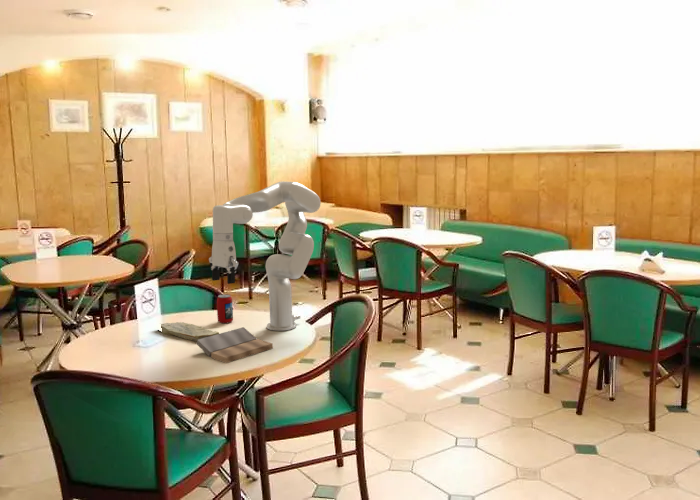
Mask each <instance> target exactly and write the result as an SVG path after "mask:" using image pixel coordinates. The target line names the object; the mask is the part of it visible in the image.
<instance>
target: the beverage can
mask: <svg viewBox="0 0 700 500" xmlns="http://www.w3.org/2000/svg"><path fill="white" fill-rule="evenodd" d="M233 309H234V307H233V298H232V296H231V295H230V294H229V293H228V294H227V293H226V294H224V293H223V294H219V295H218V296H217V299H216V310H217V311H216V312H217V322H219V323H220V324H230V323H231V322H233V321H234V310H233Z"/></svg>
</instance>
